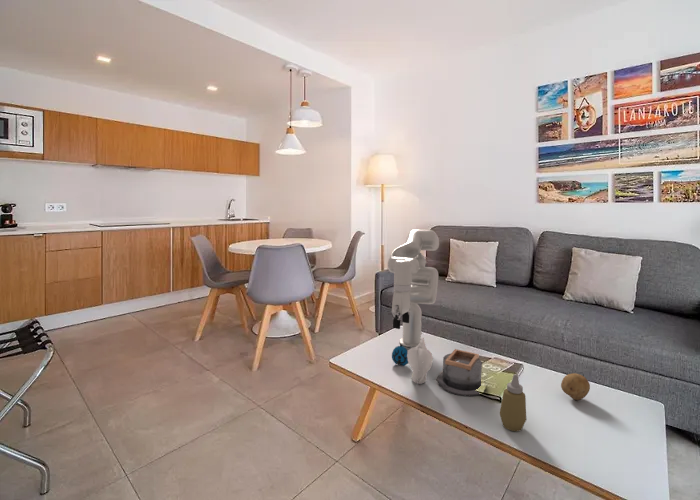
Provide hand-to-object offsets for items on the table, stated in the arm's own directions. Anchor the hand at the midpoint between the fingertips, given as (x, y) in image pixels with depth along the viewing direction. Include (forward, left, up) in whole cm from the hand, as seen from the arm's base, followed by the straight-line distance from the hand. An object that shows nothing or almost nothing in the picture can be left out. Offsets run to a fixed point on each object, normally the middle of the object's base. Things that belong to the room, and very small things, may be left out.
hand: (401, 325), depth 160 cm
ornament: (0, 0, -19) cm, 19 cm away
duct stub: (+2, +28, -19) cm, 34 cm away
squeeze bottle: (+21, +50, -19) cm, 57 cm away
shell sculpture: (+9, +13, -19) cm, 25 cm away
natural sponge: (-10, +67, -19) cm, 70 cm away
